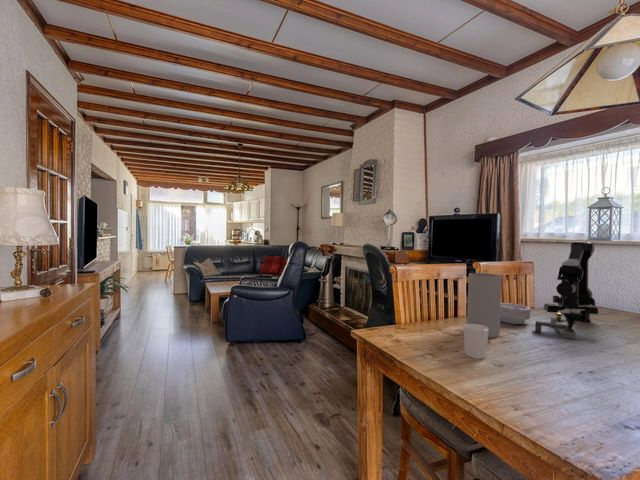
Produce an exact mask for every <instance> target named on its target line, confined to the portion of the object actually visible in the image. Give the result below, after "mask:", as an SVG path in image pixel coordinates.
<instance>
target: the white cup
mask: <svg viewBox="0 0 640 480" xmlns="http://www.w3.org/2000/svg"><path fill="white" fill-rule="evenodd" d="M488 332H489V328H488V327H486V326H483V325H478V324H467V323H465V324H463V344H464V354H465V355H466V356H467V357H469V358H471V359H480V360H481V359H482V360H483V359H485V358H486V357H487V350H488V339H489V338H488Z"/></svg>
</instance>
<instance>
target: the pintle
mask: <svg viewBox="0 0 640 480" xmlns="http://www.w3.org/2000/svg"><path fill="white" fill-rule="evenodd" d="M554 315H555V318H556V319H561V318H562V316H564V314H562V313H560V312H559V311H558V312H557V313H556V312H554Z"/></svg>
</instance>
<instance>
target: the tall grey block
mask: <svg viewBox="0 0 640 480" xmlns="http://www.w3.org/2000/svg"><path fill="white" fill-rule="evenodd" d="M502 278H503V276H502V275H500V274H495V273H487V272H486V273H483V272H481V273H480V272H470V273H468V282H467V283H468V286H467V287H468V289H467V314H466V315H467V316H466V324H478V325H483V326H486V327H488V328H489V332H488V339H493V338H498V337H499V336H500V332H501V331H500V328H501V327H500V326H501V324H500V309H501V303H502V301H501V300H502V285H503V284H502V282H503V281H502V280H503V279H502Z"/></svg>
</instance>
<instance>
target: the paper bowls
mask: <svg viewBox="0 0 640 480" xmlns="http://www.w3.org/2000/svg"><path fill="white" fill-rule="evenodd" d="M500 318H501V319H502V320H501V321H502V323H503V322H504V323H507V324H511V325H523V324H525V322H526V320H530V319H531V307H529V306H526V305H522V304H517V303H510V302H501V309H500Z"/></svg>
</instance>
